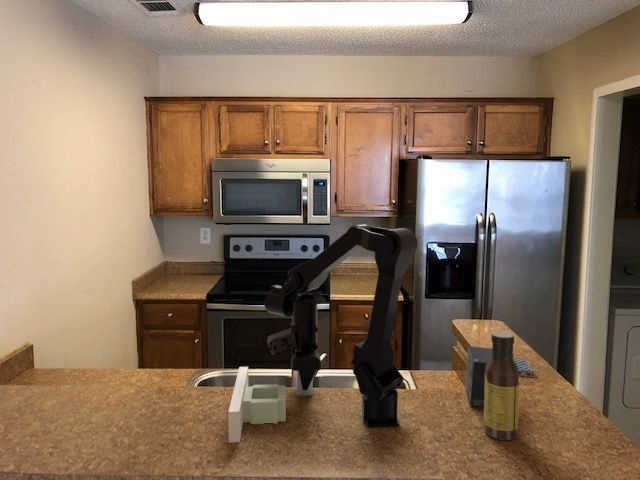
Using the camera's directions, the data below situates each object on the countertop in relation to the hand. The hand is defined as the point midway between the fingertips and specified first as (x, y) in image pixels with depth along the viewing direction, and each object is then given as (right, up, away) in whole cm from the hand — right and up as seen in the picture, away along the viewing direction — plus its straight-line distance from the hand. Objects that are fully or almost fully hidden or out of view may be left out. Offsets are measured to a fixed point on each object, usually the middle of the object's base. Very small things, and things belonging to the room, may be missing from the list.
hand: (304, 385), depth 109 cm
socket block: (-8, -3, -10) cm, 13 cm away
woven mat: (+54, -1, +15) cm, 56 cm away
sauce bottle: (+39, -4, -18) cm, 43 cm away
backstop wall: (-13, -3, -11) cm, 17 cm away
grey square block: (0, -2, 0) cm, 2 cm away
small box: (+40, -2, -3) cm, 40 cm away
